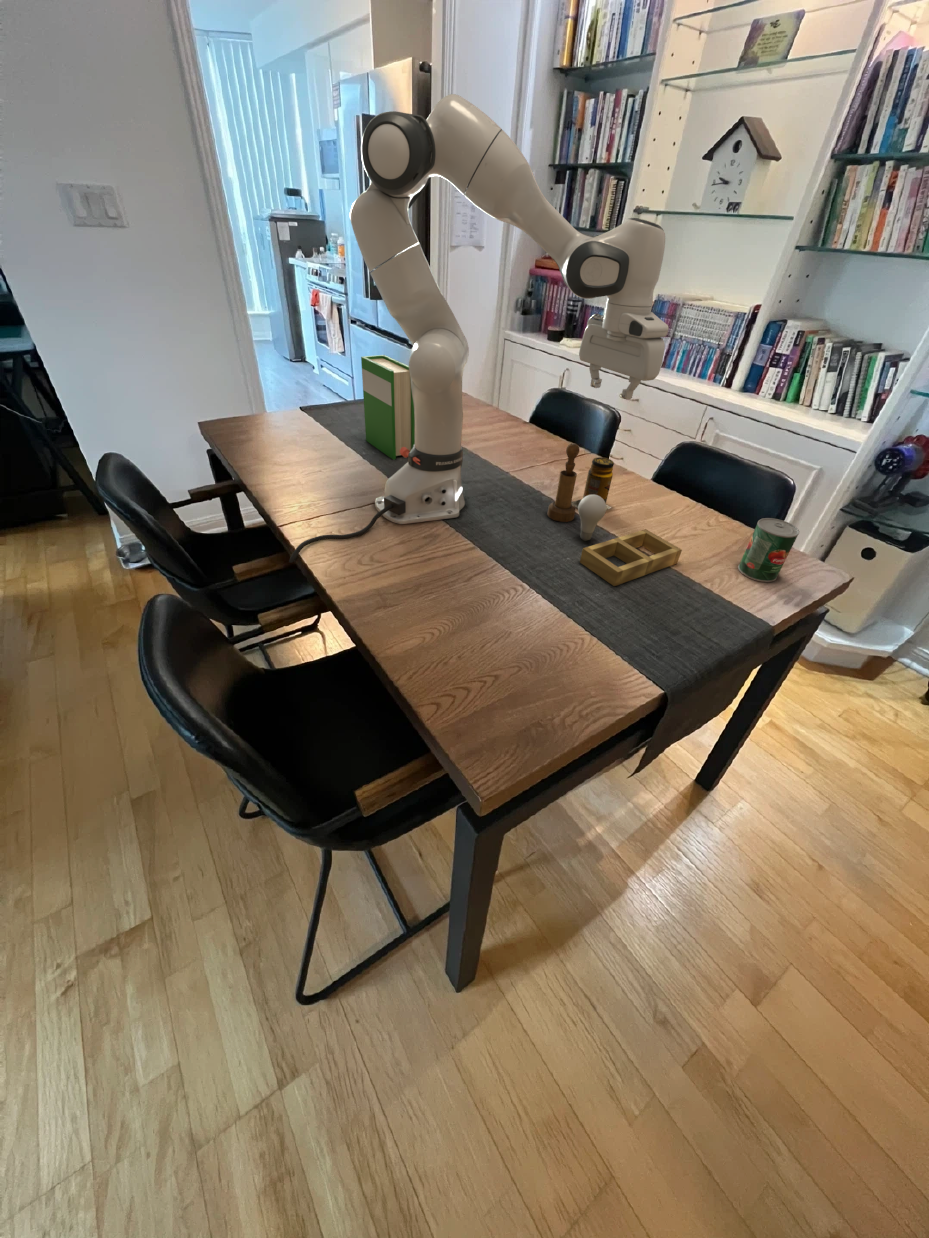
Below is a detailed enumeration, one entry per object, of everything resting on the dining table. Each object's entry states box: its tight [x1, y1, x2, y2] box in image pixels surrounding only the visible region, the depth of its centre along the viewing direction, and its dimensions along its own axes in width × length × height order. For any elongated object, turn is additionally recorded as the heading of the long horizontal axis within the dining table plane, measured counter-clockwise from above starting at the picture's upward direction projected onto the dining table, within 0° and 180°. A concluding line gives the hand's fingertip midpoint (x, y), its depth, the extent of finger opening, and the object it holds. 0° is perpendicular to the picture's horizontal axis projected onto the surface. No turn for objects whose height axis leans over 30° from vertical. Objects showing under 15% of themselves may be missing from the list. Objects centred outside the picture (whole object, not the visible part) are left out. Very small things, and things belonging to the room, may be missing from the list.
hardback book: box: [360, 354, 415, 460], centre depth 153 cm, size 18×7×24 cm, turn 34°
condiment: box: [571, 456, 615, 511], centre depth 133 cm, size 7×8×12 cm
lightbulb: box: [577, 495, 607, 542], centre depth 118 cm, size 6×6×11 cm
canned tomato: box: [737, 517, 800, 583], centre depth 111 cm, size 8×8×11 cm
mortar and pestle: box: [546, 442, 580, 523], centre depth 125 cm, size 7×6×18 cm
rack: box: [579, 528, 683, 587], centre depth 114 cm, size 19×10×4 cm, turn 122°
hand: (610, 392), depth 114 cm, fingers open, 8 cm apart
